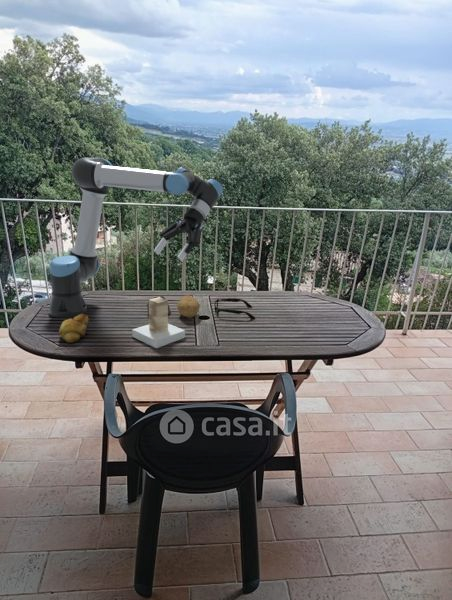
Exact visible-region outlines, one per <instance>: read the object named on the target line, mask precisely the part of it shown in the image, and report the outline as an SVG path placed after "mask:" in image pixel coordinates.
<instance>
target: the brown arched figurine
mask: <svg viewBox="0 0 452 600" xmlns="http://www.w3.org/2000/svg"><path fill="white" fill-rule="evenodd" d="M157 297H161V298H164V299H166V298H165V296H163V295H161V296H159V295H158V296H154V297H152V298H151V299H153V298H157ZM146 308H147V309H146V310H147V312H148V313H149V301H147V304H146ZM170 314H171V308H170V304H168V315H170Z"/></svg>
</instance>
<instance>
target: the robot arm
mask: <svg viewBox="0 0 452 600" xmlns="http://www.w3.org/2000/svg"><path fill="white" fill-rule="evenodd" d="M70 173H71V177H72V179H73V181H74V182H75V184H77V185H78V186H79V189H80V190H81V192H82V198H81V203H80V210H79V217H78V223H77V230H76V237H75V243H74V246H73V247H71V248H70V251H69V255H62V256H57V257H55V258H53V259H52V260H51V261H50V263H49V274H50V282H51V293H52V296H51V301H50V304H49V307H48V308H49V315H50V316H52V317H55V318H61V319H62V318H64V319H65V318H66V319H67V318H68V319H70V318H74V317H76V316H78V315H80V314H86V313H87V312H88V307H87V304H86V301H85V298H84V296H83V295H82V283H83V282H85V281H88V280H90V279H92V278H93V277H94V276H95V275H96V274H98V272H99V269H100V267H101V266H100V264H101V263H100V260H99V258H98V254H99V252H98V251H96V246H97V240H98V233H99V228H100V222H101V216H102V210H103V205H104V204H103V203H104V198H105V197H106V196H108V195H109V192H110V187H112V188H122V189H131V190H132V189H133V190H138V191H139V190H143V191H150V192H158V193H159V192H160V193H169V194H172V195H175V196H176V195H178V196H179V195H184V194H186V193H187V194H189V195H191V196H192V197H193V198H194V200H193V201H192V203H191V204H190V205H189V208H188V209H187V210H186V211H185V212H184V214H183V219H182V220H181V219H179V218H177V219H175V221H174V222H173V223H172V224H170V225H169V226H168V227H167V228H165V229H164V230H163V231H162V232H160V233H159V236H160V237H161V238H160V240H159V241H158V243H157V245H156V246H155V248H154V249H153V251H154V252H155V254H156V255H158V256H159V255H160V254H161V252H162V251H163V249H164V248H165V247H166V245H167V244H168V241H169V240H171V239H172V238H174V237H175V236H177V235H179V234H180V235H181V234H187V238H188V241H187V243H186V242H185V244H184V245H183V247H182V249H181V250H180V251H179V254H177V259H179V261H180V262H183V261H184V260H185V258H186V257H187V255H188V254H189V253H190V252H191V251H192V249H193V248H199V247H200V242H201V236H202V232H203V230H204V226H203V224H202V223H203V222H204V220H205V219H206V218H207V216H208V215H209V213H210V212H211V210H212V209H213V207H215V204H216V203H217V201H218V200H219V199H220V197H221V195H222V193H223V191H224V187H223V185H222V183H220V182H219V181H218V180H217V179H214V178H209V179H208V180H207V181H205V180H204V179H202V178H201V177H199V176H197V175H196V174H194V173H193V172H191V171H190V170H188V169H185V168H184V167H182V166H181V167H179V168H178V169H177V170H176V171H175V172H173V171H163V170H151V169H141V168H133V167H124V166H123V167H122V166H114V165H113V164H112V163H111V162H110V161H109V160H108V159H106V158H102V157H98V156H97V157H81V158H78V159H76V160H75V161H74V163H73V164H72V166H71V171H70Z"/></svg>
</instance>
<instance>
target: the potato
mask: <svg viewBox="0 0 452 600" xmlns="http://www.w3.org/2000/svg"><path fill="white" fill-rule="evenodd" d="M176 307H177V311H178V313H179V314H180V315H182V316H183V317H185V318H189V319H190V318H192V317H196V315H197V314H198V312H200V311H199V310H200V307H201V306H200V302H199V301H198V300H197V299H196V298H195V297H194V296H192V295H184V296H183V297H181V298H180V299H179V301H178V303H177V306H176Z"/></svg>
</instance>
